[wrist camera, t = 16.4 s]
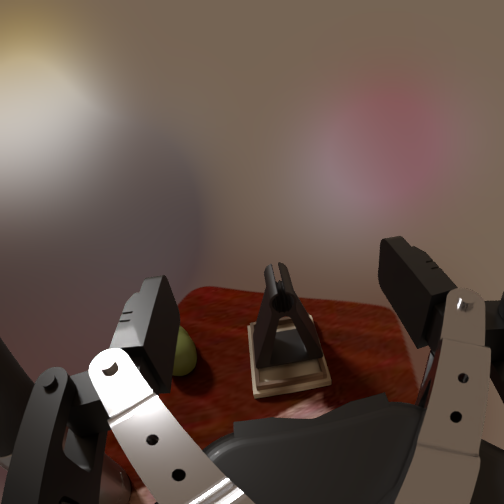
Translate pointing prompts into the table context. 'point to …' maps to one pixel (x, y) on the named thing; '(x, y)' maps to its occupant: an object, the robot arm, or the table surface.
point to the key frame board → (286, 370)
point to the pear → (184, 354)
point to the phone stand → (289, 341)
